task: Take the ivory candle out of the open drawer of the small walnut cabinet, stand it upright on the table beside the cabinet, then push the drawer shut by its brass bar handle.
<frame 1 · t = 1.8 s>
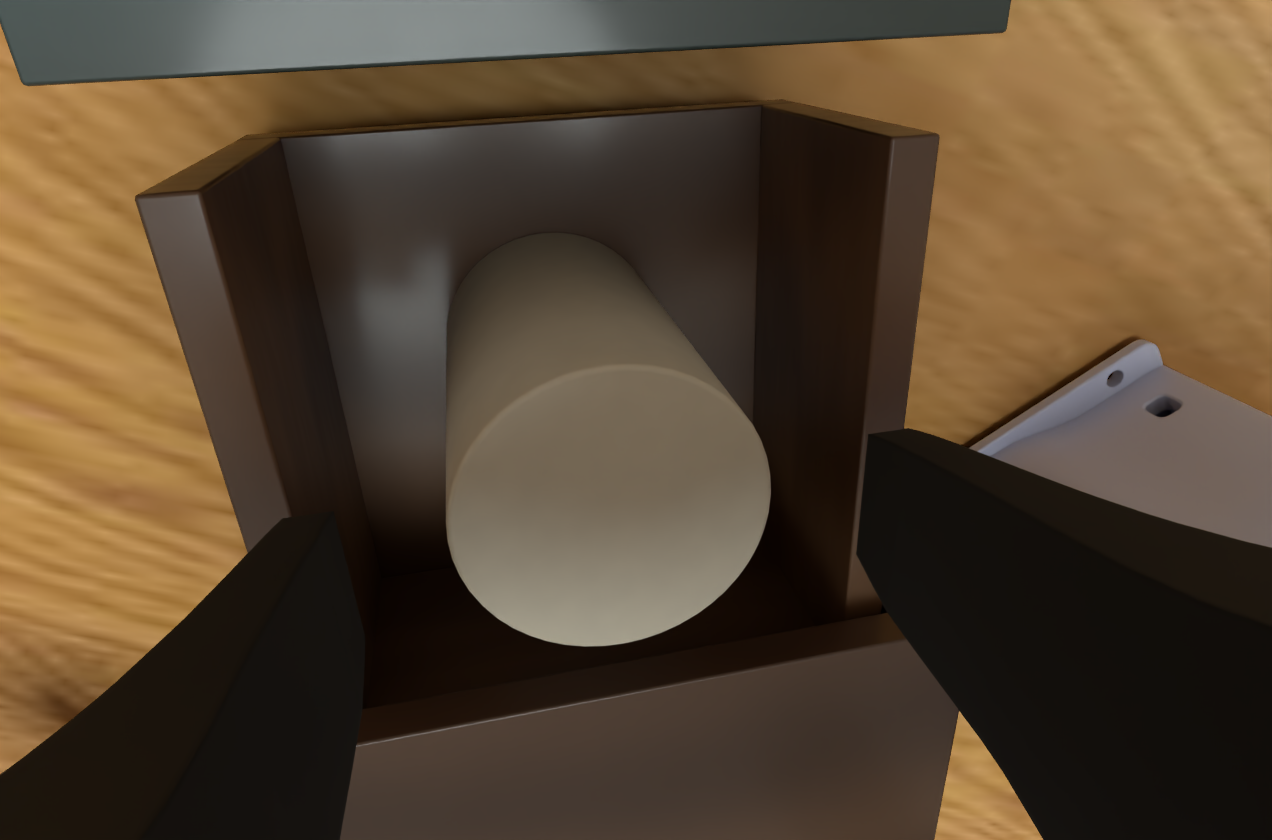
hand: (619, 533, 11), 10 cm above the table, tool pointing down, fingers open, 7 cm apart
candle: (553, 335, 18), point 2 cm above the table, touching drawer
drawer: (556, 255, 15), point 4 cm above the table, slide at 10.0 cm, touching candle
cabinet: (578, 664, 25), on the table
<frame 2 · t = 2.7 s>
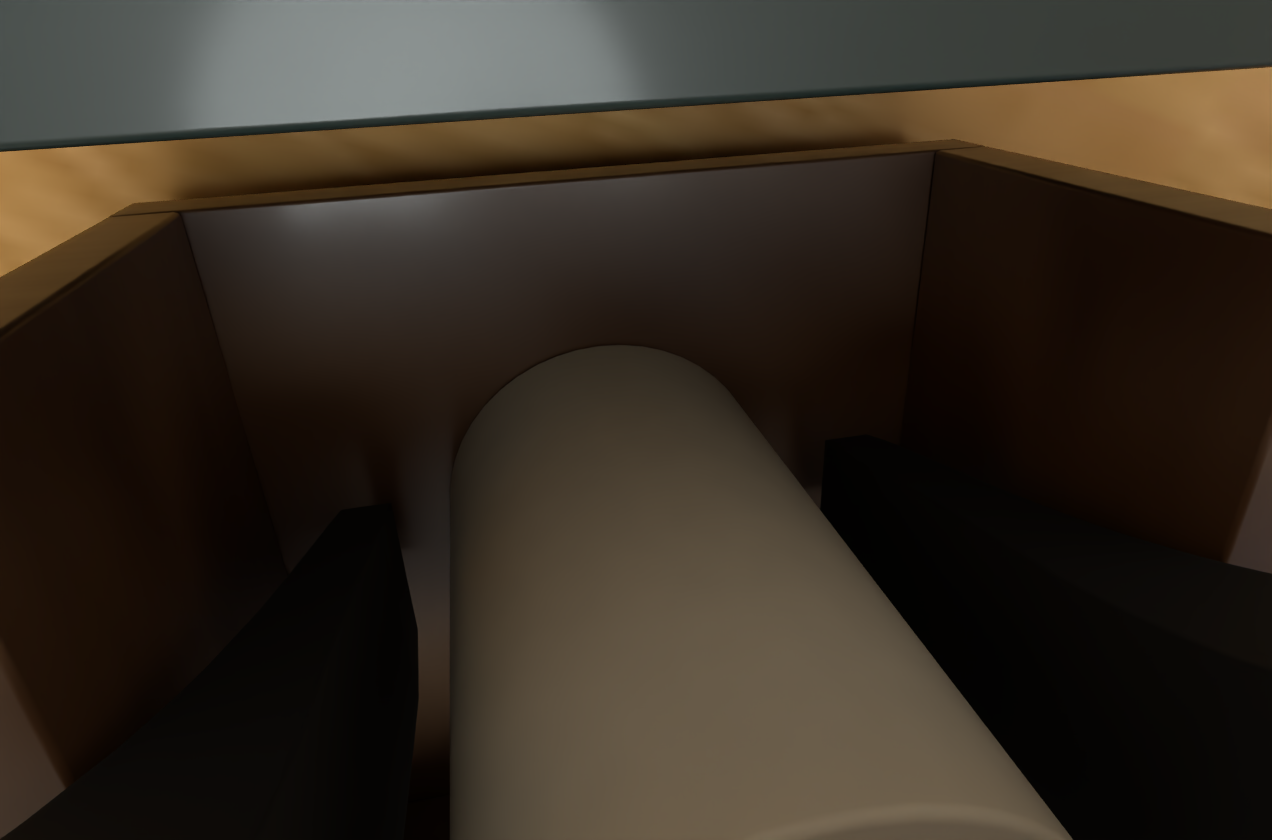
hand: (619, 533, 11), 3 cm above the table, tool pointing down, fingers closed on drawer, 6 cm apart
candle: (608, 487, 12), point 2 cm above the table, touching drawer
drawer: (631, 407, 9), point 4 cm above the table, slide at 10.0 cm, touching candle, gripper
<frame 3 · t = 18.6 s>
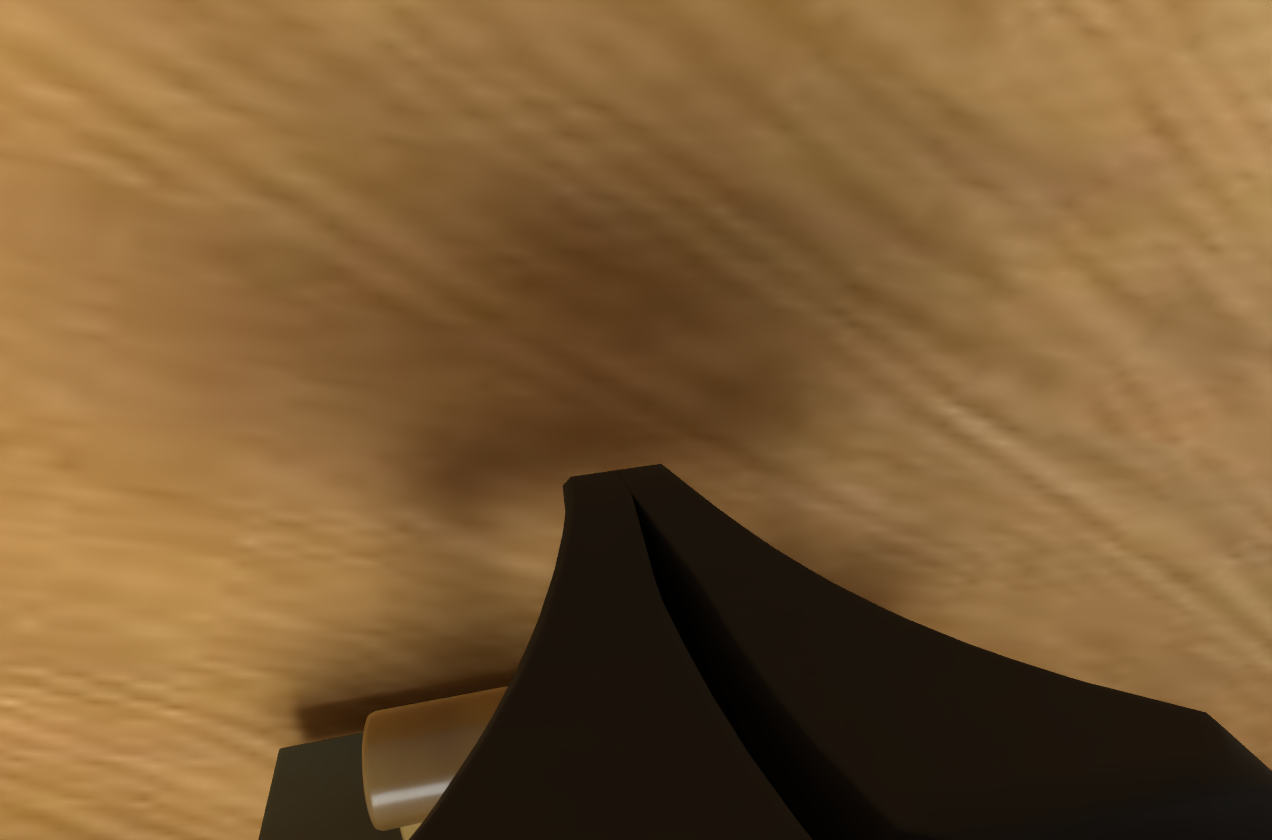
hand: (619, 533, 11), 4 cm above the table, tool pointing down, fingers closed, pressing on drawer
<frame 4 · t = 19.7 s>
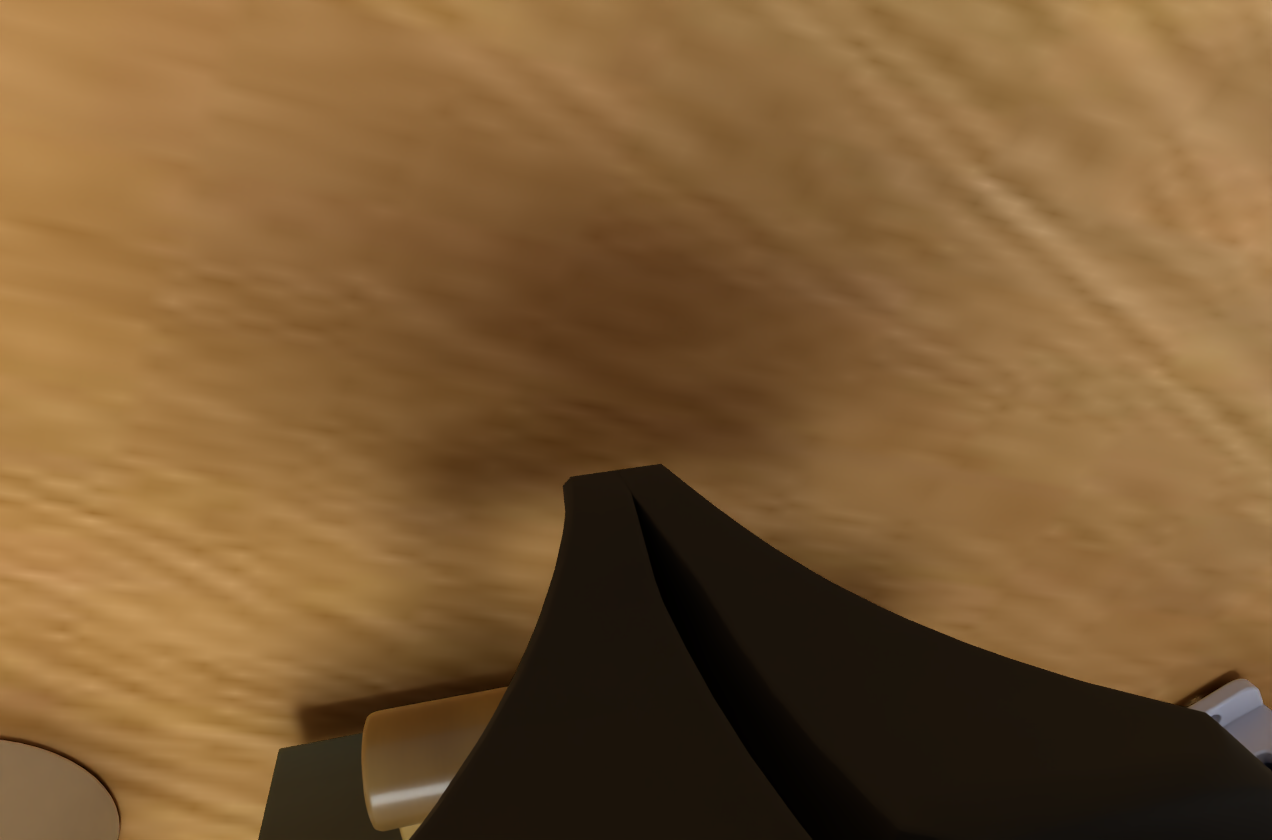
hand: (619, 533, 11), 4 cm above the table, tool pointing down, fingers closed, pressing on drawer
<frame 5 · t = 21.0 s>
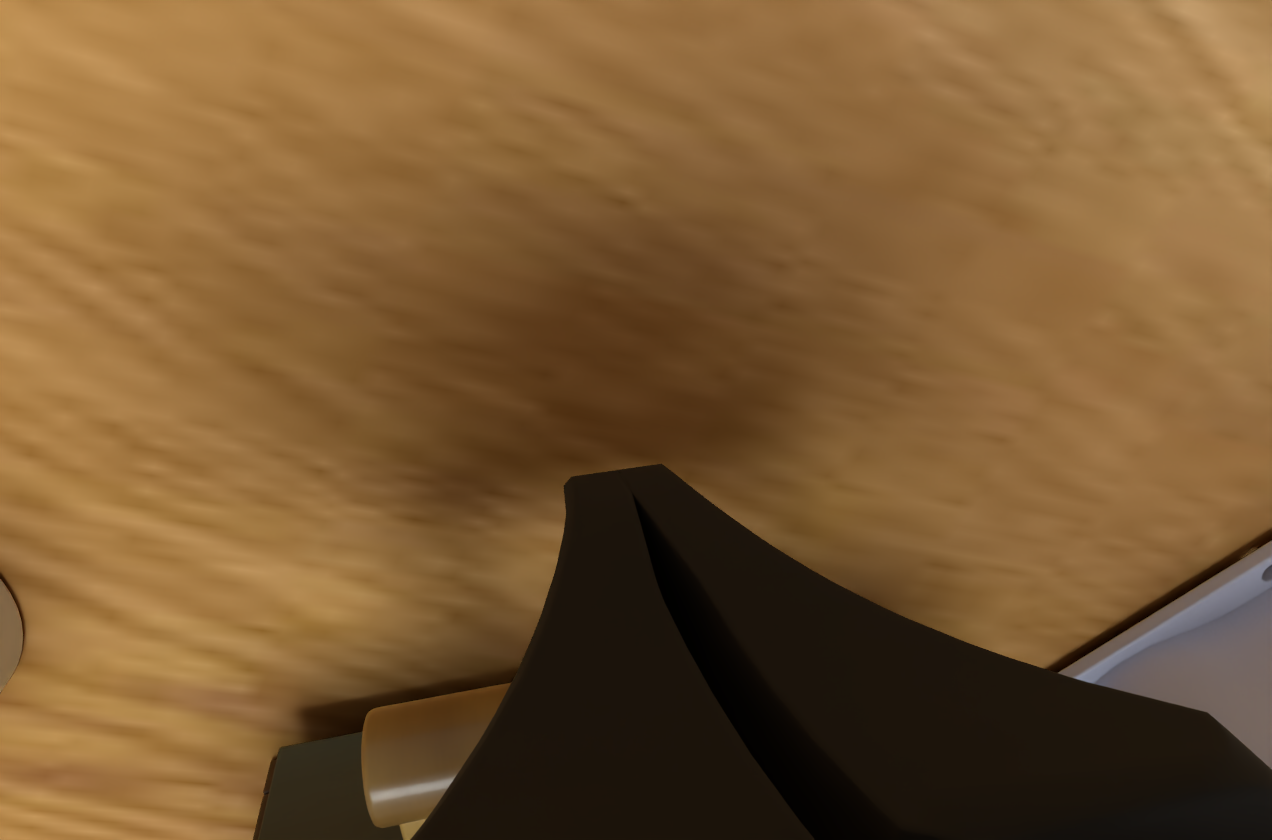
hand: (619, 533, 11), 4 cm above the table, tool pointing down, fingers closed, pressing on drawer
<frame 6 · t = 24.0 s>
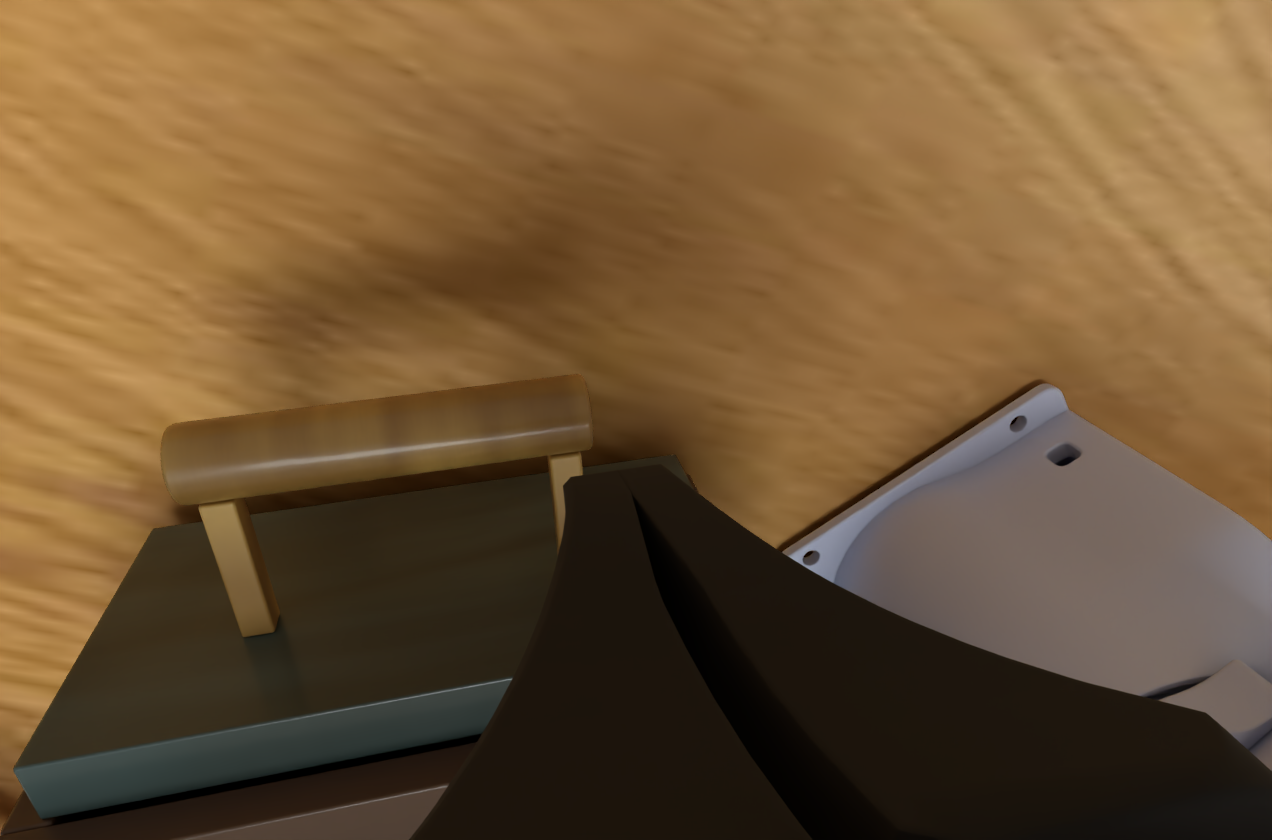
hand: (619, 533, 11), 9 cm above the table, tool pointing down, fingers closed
drawer: (456, 733, 18), point 4 cm above the table, slide at 0.0 cm, touching cabinet
cabinet: (473, 714, 24), on the table
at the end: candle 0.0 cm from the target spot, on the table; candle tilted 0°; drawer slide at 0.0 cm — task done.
